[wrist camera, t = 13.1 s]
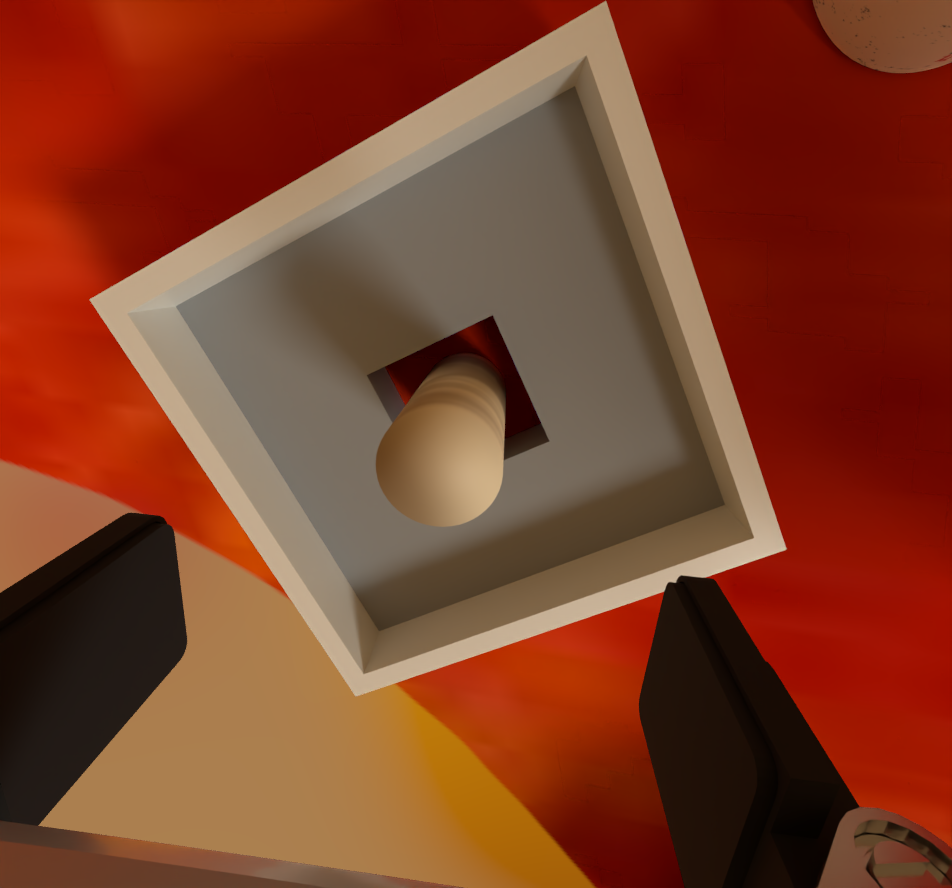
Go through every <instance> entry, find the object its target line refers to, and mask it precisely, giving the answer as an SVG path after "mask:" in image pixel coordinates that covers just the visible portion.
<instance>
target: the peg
mask: <svg viewBox="0 0 952 888" xmlns="http://www.w3.org/2000/svg"><path fill="white" fill-rule="evenodd" d="M505 409H506V386H505V382H504V379H503V377H502V375H501V373H500V371H499V370H498V369H497V367H496V366H495V365H494V364H493V363H492V362H490V361H489V360H488V359H486V358H484V357H482V356H480V355H477V354H473V353H456V354H452V355H450V356H447V357H445V358H444V359H442V360H441V361H439V362H438V363H437V364H436V365H435V366H434V367H433V369H432V370H431V371H430V373H429V374H428V375H427V377H426V378H425V380H424V381H423V382H422V384H421V385H420V386H419V388H418V389H417V391H416V392H415V393H414V395H413V396H412V397H411V399H410V400H409V401H408V403H407V404H406V406H405V407H404V408H403V410H402V411H401V412H400V414H399V415H398V416H397V418H396V419H395V421H394V422H393V423H392V425H391V426H390V427H389V429H388V430H387V431H386V433H385V434H384V436H383V438H382V440H381V442H380V444H379V447H378V450H377V455H376V474H377V479H378V482H379V485H380V487H381V489H382V491H383V493H384V495H385V496H386V498H387V499H388V501H389V502H390V503H391V504H392V505H393V506H394V507H395V508H396V509H397V510H398V511H399V512H401V513H402V514H403V515H405V516H406V517H408V518H410V519H412V520H414V521H416V522H419V523H422V524H425V525H430V526H437V527H447V526H455V525H460V524H463V523H466V522H468V521H470V520H473V519H474V518H476V517H478V516H479V515H481V514H482V513H483V512H484V511H485V510H486V509H487V508H488V507H489V506H490V505H491V504H492V502H493V501H494V500H495V498H496V496H497V494H498V492H499V490H500V487H501V484H502V478H503V461H504V435H505Z"/></svg>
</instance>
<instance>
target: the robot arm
mask: <svg viewBox="0 0 952 888" xmlns="http://www.w3.org/2000/svg"><path fill="white" fill-rule="evenodd" d="M175 545H176V544H175V536H174V531H173V528H172V527H171V526H170V525H168V524H167V523H166V521H165V519H164V518H163V517H161V516H156V515H147V514H139V513H127V514H125V515H123V516H121V517H120V518H118V519H116V520H115V521H114V522H112V523H110V524H108V525H107V526H105V527H104V528H102V529H101V530H99V531H97V532H96V533H94V534H93V535H91V536H89V537H88V538H86V539H85V540H83V541H82V542H80V543H79V544H77V545H75V546H74V547H72V548H70V549H69V550H68V551H66V552H64V553H63V554H61V555H60V556H58V557H56V558H55V559H53V560H52V561H50V562H48V563H47V564H45V565H44V566H42V567H41V568H39V569H37V570H36V571H34V572H33V573H31V574H29V575H28V576H26V577H25V578H23V579H22V580H20V581H18V582H17V583H15V584H14V585H12V586H10V587H9V588H7V589H6V590H4V591H3V592H1V593H0V888H462V887H456V886H448V885H443V884H436V883H430V882H423V881H416V880H410V879H403V878H397V877H390V876H383V875H377V874H370V873H363V872H356V871H350V870H343V869H336V868H329V867H322V866H315V865H308V864H302V863H295V862H288V861H281V860H275V859H267V858H261V857H254V856H247V855H240V854H233V853H226V852H219V851H212V850H205V849H198V848H192V847H185V846H177V845H171V844H164V843H157V842H150V841H142V840H135V839H129V838H121V837H114V836H107V835H100V834H92V833H85V832H78V831H70V830H64V829H56V828H49V827H42V826H38V825H39V824H40V823H41V822H42V820H43V819H44V818H45V817H46V816H47V815H48V813H49V812H50V811H51V810H52V809H53V808H54V806H55V805H56V804H57V803H58V802H59V801H60V799H61V798H62V797H63V796H64V795H65V794H66V792H67V791H68V790H69V789H70V788H71V787H72V786H73V784H74V783H75V782H76V781H77V780H78V778H79V777H80V776H81V775H82V774H83V773H84V772H85V770H86V769H87V768H88V767H89V766H90V764H91V763H92V762H93V761H94V760H95V759H96V758H97V756H98V755H99V754H100V753H101V752H102V751H103V749H104V748H105V747H106V746H107V745H108V744H109V742H110V741H111V740H112V739H113V738H114V737H115V735H116V734H117V733H118V732H119V731H120V730H121V729H122V727H123V726H124V725H125V724H126V723H127V721H128V720H129V719H130V718H131V717H132V716H133V714H134V713H135V712H136V711H137V710H138V709H139V707H140V706H141V705H142V704H143V703H144V702H145V701H146V699H147V698H148V697H149V696H150V695H151V694H152V692H153V691H154V690H155V689H156V688H157V687H158V685H159V684H160V683H161V682H162V681H163V679H164V678H165V677H166V676H167V675H168V674H169V673H170V671H171V670H172V669H173V668H174V667H175V666H176V664H177V663H178V662H179V661H180V660H181V658H182V656H183V654H184V652H185V649H186V645H187V635H186V626H185V618H184V610H183V601H182V593H181V585H180V577H179V570H178V560H177V552H176V546H175ZM639 713H640V719H641V723H642V727H643V731H644V735H645V739H646V742H647V746H648V750H649V754H650V758H651V761H652V765H653V769H654V773H655V777H656V780H657V784H658V788H659V792H660V796H661V799H662V803H663V807H664V811H665V815H666V818H667V822H668V826H669V830H670V834H671V837H672V841H673V845H674V849H675V852H676V856H677V860H678V864H679V868H680V871H681V875H682V879H683V883H684V887H685V888H952V848H951V847H949V846H948V845H947V844H946V843H945V842H944V841H942V840H941V839H939V838H938V837H936V836H935V835H934V834H932V833H931V832H929V831H928V830H926V829H925V828H924V827H922V826H920V825H918V824H916V823H914V822H912V821H910V820H908V819H906V818H904V817H902V816H900V815H898V814H895V813H892V812H888V811H885V810H882V809H879V808H865V807H859V805H858V804H857V802H856V800H855V799H854V797H853V796H852V794H851V792H850V791H849V789H848V788H847V786H846V784H845V783H844V781H843V780H842V778H841V776H840V775H839V773H838V772H837V770H836V768H835V767H834V765H833V764H832V762H831V760H830V759H829V757H828V756H827V754H826V752H825V751H824V749H823V748H822V746H821V744H820V743H819V741H818V740H817V738H816V736H815V735H814V733H813V732H812V730H811V728H810V727H809V725H808V724H807V722H806V720H805V719H804V717H803V715H802V714H801V712H800V711H799V709H798V707H797V706H796V704H795V703H794V701H793V699H792V698H791V696H790V695H789V693H788V691H787V690H786V688H785V687H784V685H783V683H782V682H781V680H780V679H779V677H778V675H777V674H776V672H775V671H774V669H773V668H772V667H771V666H770V664H769V663H768V662H766V661H765V660H764V659H763V657H762V655H761V654H760V652H759V651H758V649H757V647H756V646H755V644H754V642H753V641H752V639H751V638H750V636H749V634H748V633H747V631H746V629H745V628H744V626H743V625H742V623H741V621H740V620H739V618H738V616H737V615H736V613H735V612H734V610H733V608H732V607H731V605H730V603H729V602H728V600H727V599H726V597H725V595H724V594H723V592H722V590H721V589H720V587H719V586H718V584H717V582H716V581H715V580H714V579H710V578H701V577H692V576H683V575H681V576H679V577H678V579H677V580H676V583H674V582H669V583H668V584H667V585H666V588H665V591H664V596H663V600H662V604H661V608H660V613H659V617H658V621H657V625H656V630H655V634H654V638H653V642H652V647H651V651H650V655H649V659H648V664H647V668H646V672H645V676H644V681H643V685H642V689H641V693H640V699H639Z"/></svg>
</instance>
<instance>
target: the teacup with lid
mask: <svg viewBox="0 0 952 888" xmlns="http://www.w3.org/2000/svg"><path fill="white" fill-rule="evenodd" d="M812 1H813V5H814V8H815V11H816V14H817V17H818V19H819V21H820V23H821V25H822V27H823V29H824V31H825V32H826V34H827V35H828V37H829V38H830V39H831V41H832V42H833V43H834V44H835V46H836V47H837V48H838V49H840V50H841V51H842V52H843V53H844V54H845V55H847V56H848V57H849V58H851V59H852V60H854V61H856V62H857V63H859V64H861V65H864V66H866V67H868V68H871V69H875V70H878V71H883V72H889V73H913V72H920V71H925V70H930V69H933V68H937V67H940V66H943V65H946V64H948V63H951V62H952V0H812Z"/></svg>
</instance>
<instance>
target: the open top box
mask: <svg viewBox="0 0 952 888" xmlns="http://www.w3.org/2000/svg"><path fill="white" fill-rule="evenodd" d="M89 300H90V301H91V303H92V304H93V306H94V307H95V309H96V310H97V312H98V313H99V315H100V316H101V318H102V319H103V321H104V322H105V324H106V325H107V327H108V328H109V330H110V331H111V333H112V334H113V335H114V337H115V338H116V340H117V341H118V343H119V344H120V346H121V347H122V349H123V350H124V352H125V353H126V355H127V356H128V358H129V359H130V361H131V362H132V364H133V365H134V367H135V368H136V370H137V371H138V373H139V374H140V376H141V377H142V379H143V380H144V382H145V383H146V385H147V386H148V388H149V389H150V391H151V392H152V394H153V395H154V397H155V398H156V400H157V401H158V403H159V404H160V406H161V407H162V409H163V410H164V411H165V413H166V414H167V416H168V417H169V419H170V420H171V422H172V423H173V425H174V426H175V428H176V429H177V431H178V432H179V434H180V435H181V437H182V438H183V440H184V441H185V443H186V444H187V446H188V447H189V449H190V450H191V452H192V453H193V455H194V456H195V458H196V459H197V461H198V462H199V464H200V465H201V467H202V468H203V470H204V471H205V473H206V474H207V476H208V477H209V479H210V480H211V482H212V483H213V484H214V486H215V487H216V489H217V490H218V492H219V493H220V495H221V496H222V498H223V499H224V501H225V502H226V504H227V505H228V507H229V508H230V510H231V511H232V513H233V514H234V516H235V517H236V519H237V520H238V522H239V523H240V525H241V526H242V528H243V529H244V531H245V532H246V534H247V535H248V537H249V538H250V540H251V541H252V543H253V544H254V546H255V547H256V549H257V550H258V552H259V553H260V555H261V556H262V557H263V559H264V560H265V562H266V563H267V565H268V566H269V568H270V569H271V571H272V572H273V574H274V575H275V577H276V578H277V580H278V581H279V583H280V584H281V586H282V587H283V589H284V590H285V592H286V593H287V595H288V596H289V598H290V599H291V601H292V602H293V604H294V605H295V607H296V608H297V610H298V611H299V613H300V614H301V616H302V617H303V618H304V620H305V621H306V623H307V625H308V626H309V627H310V629H311V631H312V632H313V633H314V635H315V636H316V638H317V639H318V641H319V642H320V644H321V645H322V647H323V648H324V650H325V651H326V653H327V654H328V656H329V657H330V659H331V660H332V662H333V663H334V665H335V666H336V668H337V669H338V671H339V672H340V674H341V675H342V676H343V678H344V680H345V681H346V683H347V684H348V686H349V687H350V688H351V690H352V692H353V693H354V694H355V696H359V695H362V694H365V693H368V692H370V691H373V690H376V689H379V688H382V687H385V686H388V685H391V684H394V683H397V682H400V681H403V680H406V679H409V678H412V677H415V676H417V675H420V674H423V673H426V672H429V671H432V670H435V669H438V668H441V667H444V666H447V665H450V664H453V663H456V662H458V661H461V660H464V659H467V658H470V657H473V656H476V655H479V654H482V653H485V652H488V651H491V650H494V649H497V648H500V647H502V646H505V645H508V644H511V643H514V642H517V641H520V640H523V639H526V638H529V637H532V636H535V635H538V634H541V633H544V632H546V631H549V630H552V629H555V628H558V627H561V626H564V625H567V624H570V623H573V622H576V621H579V620H582V619H585V618H587V617H590V616H593V615H596V614H599V613H602V612H605V611H608V610H611V609H614V608H617V607H620V606H623V605H626V604H629V603H631V602H634V601H637V600H640V599H643V598H646V597H649V596H652V595H655V594H658V593H661V592H664V591H665V588H666V585H667V584H668V583H669V582H674V583H676V580H677V579H678V577H679V576H681V575H683V576H692V577H701V578H705V577H708V576H711V575H714V574H716V573H719V572H722V571H725V570H728V569H731V568H734V567H737V566H740V565H743V564H746V563H749V562H752V561H755V560H757V559H760V558H763V557H766V556H769V555H772V554H775V553H778V552H781V551H784V550H787V549H786V546H785V543H784V540H783V537H782V534H781V531H780V528H779V525H778V522H777V519H776V516H775V513H774V510H773V507H772V504H771V501H770V498H769V495H768V492H767V489H766V486H765V483H764V480H763V477H762V473H761V470H760V467H759V464H758V461H757V458H756V455H755V452H754V449H753V446H752V443H751V440H750V437H749V434H748V431H747V428H746V425H745V422H744V419H743V416H742V413H741V410H740V407H739V404H738V401H737V397H736V394H735V391H734V388H733V385H732V382H731V379H730V376H729V373H728V370H727V367H726V364H725V361H724V358H723V355H722V352H721V349H720V346H719V343H718V340H717V337H716V334H715V331H714V328H713V325H712V321H711V318H710V315H709V312H708V309H707V306H706V303H705V300H704V297H703V294H702V291H701V288H700V285H699V282H698V279H697V276H696V273H695V270H694V267H693V264H692V261H691V258H690V255H689V252H688V249H687V246H686V242H685V239H684V236H683V233H682V230H681V227H680V224H679V221H678V218H677V215H676V212H675V209H674V206H673V203H672V200H671V197H670V194H669V191H668V188H667V185H666V182H665V179H664V176H663V173H662V170H661V166H660V163H659V160H658V157H657V154H656V151H655V148H654V145H653V142H652V139H651V136H650V133H649V130H648V127H647V124H646V121H645V118H644V115H643V112H642V109H641V106H640V103H639V100H638V97H637V94H636V90H635V87H634V84H633V81H632V78H631V75H630V72H629V69H628V66H627V63H626V60H625V57H624V54H623V51H622V48H621V45H620V42H619V39H618V36H617V33H616V30H615V27H614V24H613V21H612V18H611V14H610V11H609V8H608V5H607V2H606V1H605V2H603V3H601V4H600V5H598V6H596V7H594V8H593V9H591V10H589V11H588V12H586V13H584V14H582V15H581V16H579V17H577V18H575V19H574V20H572V21H570V22H568V23H567V24H565V25H563V26H562V27H560V28H558V29H556V30H555V31H553V32H551V33H549V34H548V35H546V36H544V37H543V38H541V39H539V40H537V41H536V42H534V43H532V44H530V45H529V46H527V47H525V48H524V49H522V50H520V51H518V52H517V53H515V54H513V55H511V56H510V57H508V58H506V59H505V60H503V61H501V62H499V63H498V64H496V65H494V66H492V67H491V68H489V69H487V70H485V71H484V72H482V73H480V74H479V75H477V76H475V77H473V78H472V79H470V80H468V81H466V82H465V83H463V84H461V85H460V86H458V87H456V88H454V89H453V90H451V91H449V92H447V93H446V94H444V95H442V96H441V97H439V98H437V99H435V100H434V101H432V102H430V103H428V104H427V105H425V106H423V107H421V108H420V109H418V110H416V111H415V112H413V113H411V114H409V115H408V116H406V117H404V118H402V119H401V120H399V121H397V122H396V123H394V124H392V125H390V126H389V127H387V128H385V129H383V130H382V131H380V132H378V133H377V134H375V135H373V136H371V137H370V138H368V139H366V140H364V141H363V142H361V143H359V144H357V145H356V146H354V147H352V148H351V149H349V150H347V151H345V152H344V153H342V154H340V155H338V156H337V157H335V158H333V159H332V160H330V161H328V162H326V163H325V164H323V165H321V166H319V167H318V168H316V169H314V170H313V171H311V172H309V173H307V174H306V175H304V176H302V177H300V178H299V179H297V180H295V181H293V182H292V183H290V184H288V185H287V186H285V187H283V188H281V189H280V190H278V191H276V192H274V193H273V194H271V195H269V196H268V197H266V198H264V199H262V200H261V201H259V202H257V203H255V204H254V205H252V206H250V207H249V208H247V209H245V210H243V211H242V212H240V213H238V214H236V215H235V216H233V217H231V218H230V219H228V220H226V221H224V222H223V223H221V224H219V225H217V226H216V227H214V228H212V229H210V230H209V231H207V232H205V233H204V234H202V235H200V236H198V237H197V238H195V239H193V240H191V241H190V242H188V243H186V244H185V245H183V246H181V247H179V248H178V249H176V250H174V251H172V252H171V253H169V254H167V255H166V256H164V257H162V258H160V259H159V260H157V261H155V262H153V263H152V264H150V265H148V266H146V267H145V268H143V269H141V270H140V271H138V272H136V273H134V274H133V275H131V276H129V277H127V278H126V279H124V280H122V281H121V282H119V283H117V284H115V285H114V286H112V287H110V288H108V289H107V290H105V291H103V292H102V293H100V294H98V295H96V296H95V297H93V298H91V299H89ZM492 315H493V317H494V319H495V321H496V324H497V326H498V328H499V330H500V333H501V335H502V337H503V339H504V341H505V344H506V346H507V348H508V350H509V353H510V355H511V357H512V359H513V361H514V364H515V366H516V368H517V370H518V373H519V375H520V377H521V379H522V381H523V384H524V386H525V388H526V390H527V392H528V395H529V397H530V399H531V401H532V404H533V406H534V408H535V410H536V412H537V415H538V417H539V419H540V421H541V424H539V425H536V426H534V427H532V428H529V429H527V430H525V431H522V432H520V433H517V434H515V435H513V436H510V437H508V438H506V439H504V461H503V478H502V484H501V487H500V490H499V492H498V494H497V496H496V498H495V500H494V501H493V502H492V504H491V505H490V506H489V507H488V508H487V509H486V510H485V511H484V512H483V513H482V514H481V515H479V516H478V517H476V518H474V519H473V520H470V521H468V522H466V523H463V524H460V525H455V526H447V527H437V526H430V525H425V524H422V523H419V522H416V521H414V520H412V519H410V518H408V517H406V516H405V515H403V514H402V513H401V512H399V511H398V510H397V509H396V508H395V507H394V506H393V505H392V504H391V503H390V502H389V501H388V499H387V498H386V496H385V495H384V493H383V491H382V489H381V487H380V485H379V482H378V479H377V474H376V455H377V450H378V447H379V444H380V442H381V440H382V438H383V436H384V434H385V433H386V431H387V430H388V429H389V427H390V426H391V425H392V423H393V422H394V421H395V419H396V418H397V416H398V415H399V414H400V412H401V411H402V410H403V408H404V407H405V404H404V402H403V401H402V399H401V397H400V395H399V393H398V391H397V389H396V387H395V385H394V383H393V382H392V380H391V378H390V376H389V374H388V372H387V370H386V368H385V366H387V365H389V364H391V363H393V362H395V361H398V360H400V359H402V358H404V357H406V356H408V355H410V354H412V353H414V352H416V351H419V350H421V349H423V348H425V347H427V346H429V345H431V344H433V343H435V342H437V341H439V340H442V339H444V338H446V337H448V336H450V335H452V334H454V333H456V332H458V331H460V330H463V329H465V328H467V327H469V326H471V325H473V324H475V323H477V322H479V321H481V320H483V319H486V318H488V317H490V316H492Z"/></svg>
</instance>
